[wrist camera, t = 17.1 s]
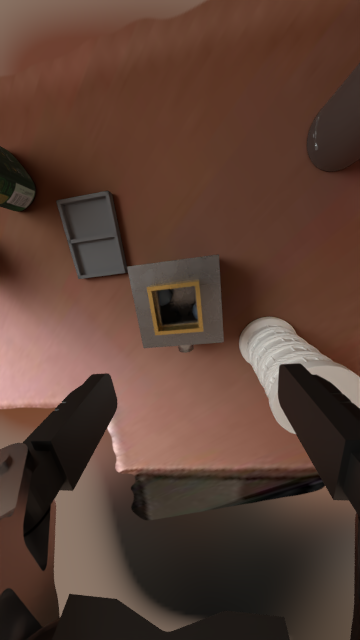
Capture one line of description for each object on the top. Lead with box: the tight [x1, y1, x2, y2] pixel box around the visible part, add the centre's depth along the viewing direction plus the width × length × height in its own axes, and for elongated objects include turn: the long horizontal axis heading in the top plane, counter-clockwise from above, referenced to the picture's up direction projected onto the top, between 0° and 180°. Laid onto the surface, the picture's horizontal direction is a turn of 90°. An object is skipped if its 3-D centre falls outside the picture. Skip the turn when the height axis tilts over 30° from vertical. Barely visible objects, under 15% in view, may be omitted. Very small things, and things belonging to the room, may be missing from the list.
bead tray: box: [56, 191, 128, 279], centre depth 35 cm, size 10×14×2 cm
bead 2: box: [192, 303, 197, 319], centre depth 36 cm, size 4×4×4 cm
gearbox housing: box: [127, 255, 224, 352], centre depth 33 cm, size 14×17×11 cm
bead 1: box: [158, 289, 172, 306], centre depth 36 cm, size 4×4×4 cm
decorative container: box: [239, 317, 360, 434], centre depth 31 cm, size 12×12×18 cm
